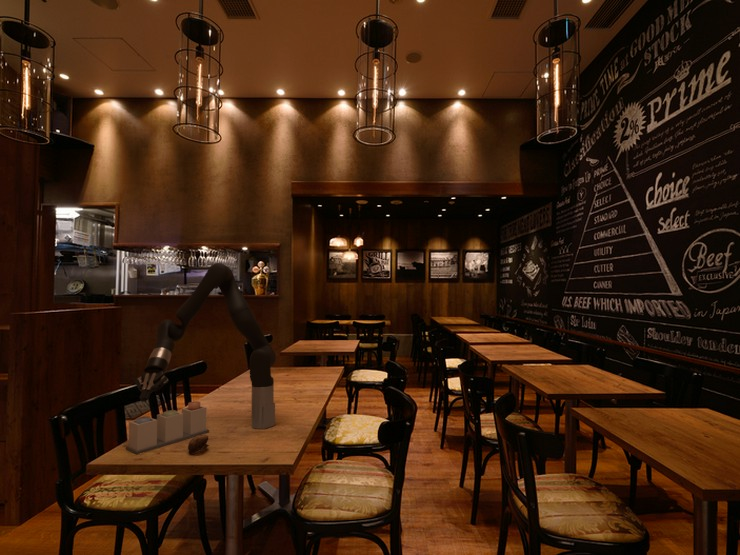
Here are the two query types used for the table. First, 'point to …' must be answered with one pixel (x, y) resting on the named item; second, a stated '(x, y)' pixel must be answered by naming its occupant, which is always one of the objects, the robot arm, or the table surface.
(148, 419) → the slate button
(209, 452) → the table surface
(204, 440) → the mushroom
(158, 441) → the button stand
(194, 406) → the terracotta button
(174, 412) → the sage button
